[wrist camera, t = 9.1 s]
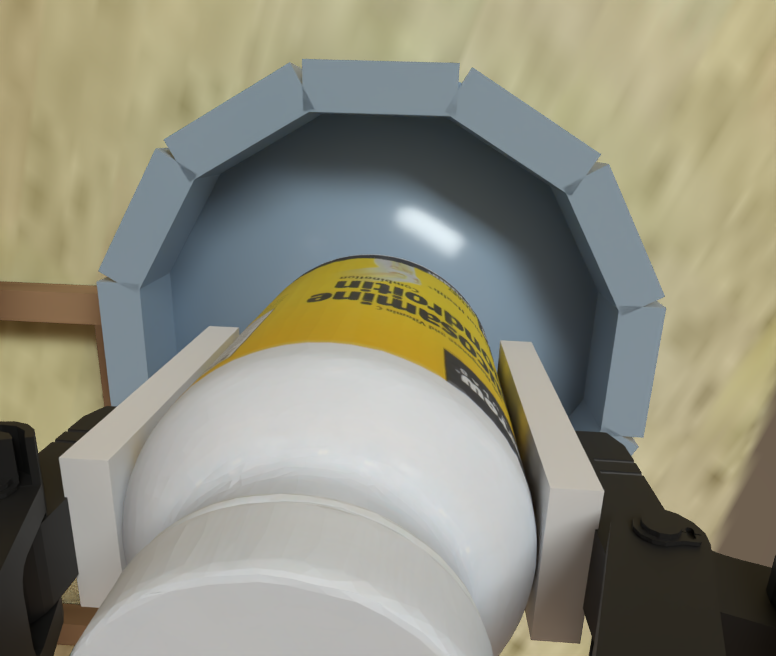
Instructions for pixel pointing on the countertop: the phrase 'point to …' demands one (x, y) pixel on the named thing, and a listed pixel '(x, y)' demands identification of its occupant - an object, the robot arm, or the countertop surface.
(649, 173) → the countertop surface
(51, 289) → the open rectangular frame
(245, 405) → the pill bottle
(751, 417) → the countertop surface
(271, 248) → the bowl
